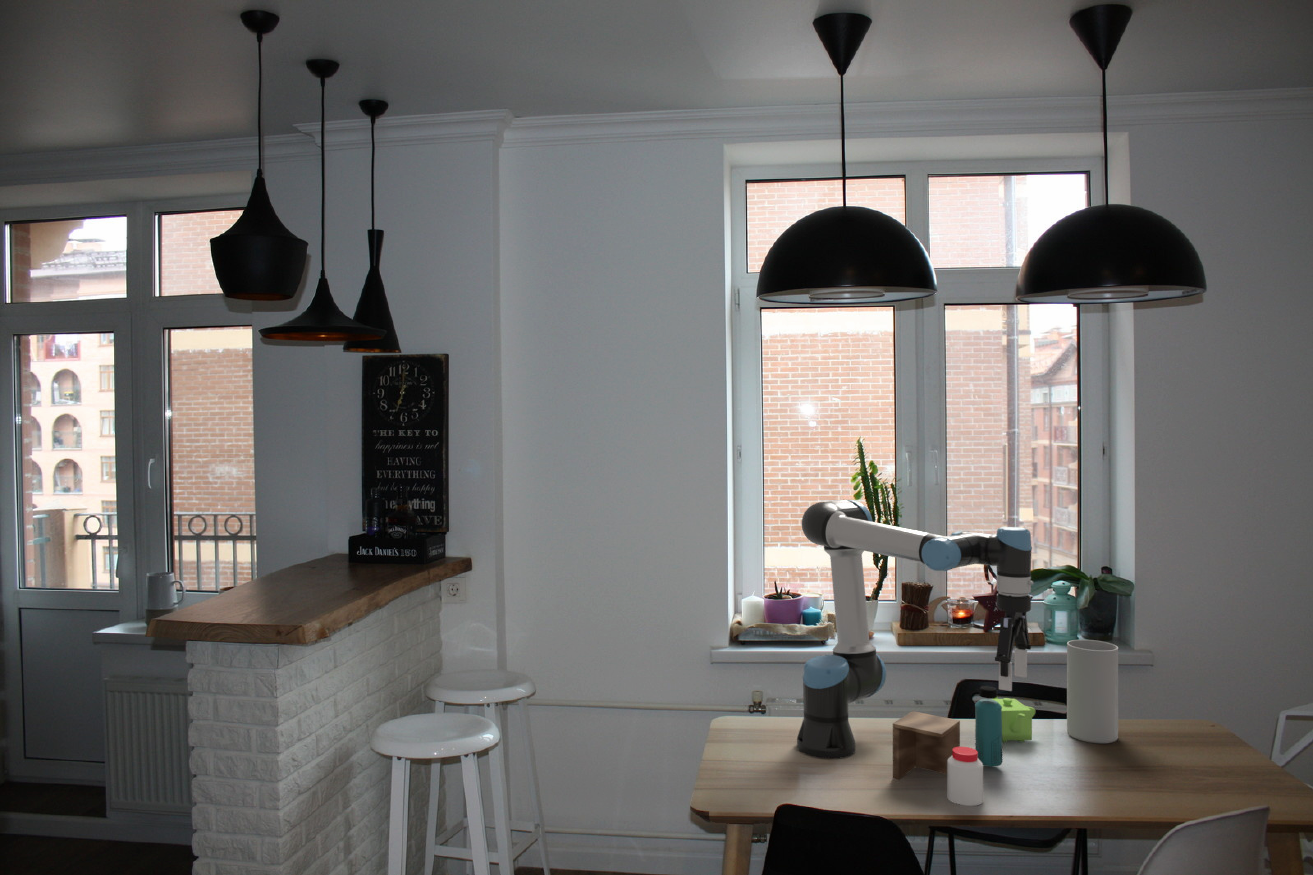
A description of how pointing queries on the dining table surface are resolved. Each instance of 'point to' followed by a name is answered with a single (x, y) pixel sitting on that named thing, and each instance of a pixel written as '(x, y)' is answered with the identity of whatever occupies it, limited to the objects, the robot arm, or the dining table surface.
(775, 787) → the dining table surface
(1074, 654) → the cylinder vase
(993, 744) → the beverage bottle
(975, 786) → the pill bottle
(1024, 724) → the teapot
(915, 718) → the awning shelf
